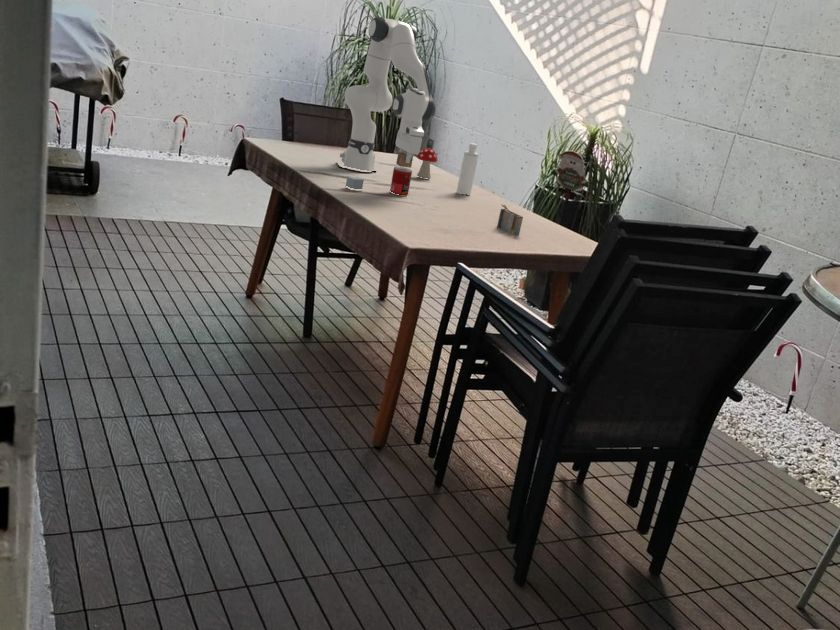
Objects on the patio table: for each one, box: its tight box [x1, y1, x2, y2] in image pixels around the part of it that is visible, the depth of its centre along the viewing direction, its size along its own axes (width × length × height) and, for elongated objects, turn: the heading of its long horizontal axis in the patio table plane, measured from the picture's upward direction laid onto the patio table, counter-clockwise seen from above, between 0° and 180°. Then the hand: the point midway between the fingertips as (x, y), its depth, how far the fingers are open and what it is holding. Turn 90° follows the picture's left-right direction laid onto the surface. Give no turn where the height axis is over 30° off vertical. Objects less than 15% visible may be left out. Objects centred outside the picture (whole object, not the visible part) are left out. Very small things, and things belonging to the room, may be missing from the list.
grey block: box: [345, 176, 365, 190], centre depth 337 cm, size 5×5×5 cm
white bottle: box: [456, 142, 479, 196], centre depth 374 cm, size 7×7×25 cm
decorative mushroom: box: [416, 147, 438, 180], centre depth 398 cm, size 10×9×15 cm
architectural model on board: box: [496, 203, 524, 236], centre depth 314 cm, size 11×3×10 cm, turn 30°
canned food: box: [389, 166, 413, 196], centre depth 346 cm, size 8×8×11 cm
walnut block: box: [395, 151, 414, 169], centre depth 343 cm, size 5×5×5 cm
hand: (404, 161), depth 343 cm, fingers closed on walnut block, 5 cm apart
